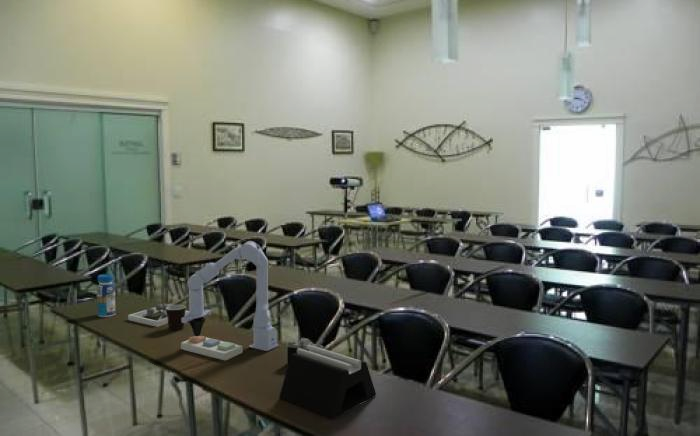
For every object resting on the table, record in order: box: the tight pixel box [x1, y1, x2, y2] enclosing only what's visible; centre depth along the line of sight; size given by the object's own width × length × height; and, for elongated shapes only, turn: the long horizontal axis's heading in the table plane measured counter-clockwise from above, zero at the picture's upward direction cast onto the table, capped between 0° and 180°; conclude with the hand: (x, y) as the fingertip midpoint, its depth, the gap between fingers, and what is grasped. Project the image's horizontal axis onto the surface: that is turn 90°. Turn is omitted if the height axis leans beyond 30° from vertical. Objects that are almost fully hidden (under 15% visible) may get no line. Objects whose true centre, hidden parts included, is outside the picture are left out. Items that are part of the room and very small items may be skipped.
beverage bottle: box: [96, 273, 117, 318], centre depth 270 cm, size 8×8×20 cm
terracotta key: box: [188, 335, 207, 344], centre depth 226 cm, size 5×5×2 cm
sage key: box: [218, 341, 236, 351], centre depth 218 cm, size 5×5×2 cm
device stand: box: [278, 345, 377, 421], centre depth 180 cm, size 22×22×15 cm
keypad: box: [180, 337, 244, 361], centre depth 222 cm, size 24×10×3 cm, turn 60°
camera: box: [286, 337, 325, 366], centre depth 208 cm, size 15×7×10 cm, turn 73°
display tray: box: [127, 306, 189, 328], centre depth 266 cm, size 20×20×2 cm
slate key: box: [203, 337, 221, 347], centre depth 222 cm, size 5×5×2 cm
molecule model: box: [142, 303, 173, 321], centre depth 268 cm, size 15×9×11 cm
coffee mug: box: [166, 304, 187, 332], centre depth 251 cm, size 12×9×10 cm
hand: (197, 335), depth 226 cm, fingers closed
